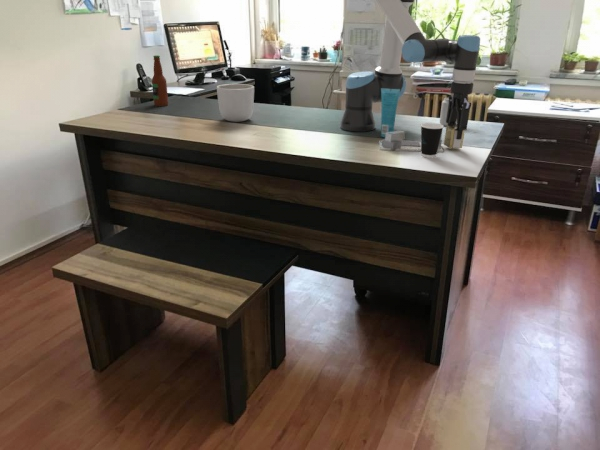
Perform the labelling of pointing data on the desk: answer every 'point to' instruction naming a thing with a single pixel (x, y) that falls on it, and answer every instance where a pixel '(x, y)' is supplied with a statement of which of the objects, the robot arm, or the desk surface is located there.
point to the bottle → (159, 84)
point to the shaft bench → (401, 142)
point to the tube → (388, 109)
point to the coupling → (451, 136)
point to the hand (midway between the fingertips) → (452, 145)
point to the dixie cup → (430, 139)
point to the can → (444, 112)
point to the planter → (236, 101)
